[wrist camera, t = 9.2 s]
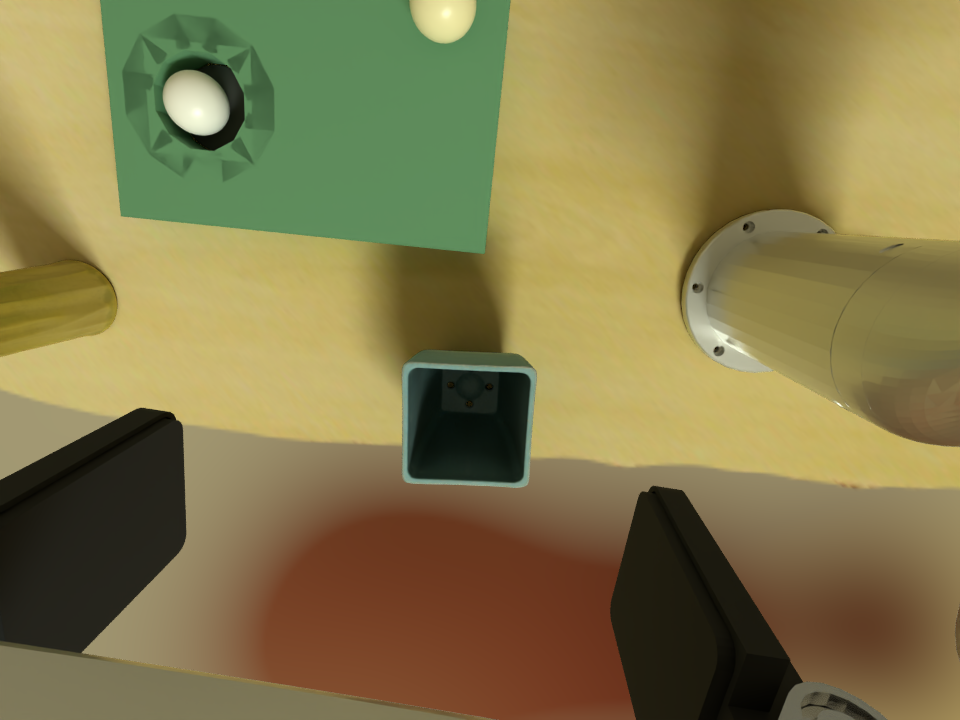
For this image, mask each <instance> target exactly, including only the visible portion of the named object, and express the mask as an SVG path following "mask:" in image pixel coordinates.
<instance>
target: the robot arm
mask: <svg viewBox="0 0 960 720" xmlns="http://www.w3.org/2000/svg"><path fill="white" fill-rule="evenodd" d="M744 224H745V225H746V228H745V230H743V226H744ZM695 283H696V288H695V289H692V286H693V284H695ZM681 305H682V313H683V319H684V322H685V325H686V328H687V331H688V333H689V335H690V336H691V338H692V340H693V341H694V343H695V344H696V345H697V346H698V347H699V348H700V349H701V351H702V352H703V353H704V354H706V355H707V356H708V357H710V358H711V359H713V360H714V361H716V362H718V363H720V364H721V365H723V366H725V367H727V368H731V369H734V370H737V371H741V372H751V373H760V372H771V371H776V372H778V373H780V374H781V375H783V376H785V377H787V378H789V379H791V380H793V381H794V382H796V383H798V384H800V385H802V386H804V387H805V388H807V389H809V390H811V391H813V392H815V393H817V394H818V395H820V396H822V397H824V398H826V399H828V400H829V401H831V402H833V403H835V404H837V405H839V406H841V407H842V408H844V409H846V410H848V411H850V412H852V413H854V414H856V415H858V416H859V417H861V418H863V419H865V420H867V421H869V422H871V423H873V424H875V425H877V426H878V427H880V428H882V429H884V430H886V431H888V432H890V433H893V434H895V435H897V436H900V437H903V438H906V439H909V440H913V441H916V442H920V443H925V444H931V445H940V446H951V447H960V241H953V240H934V239H916V238H898V237H880V236H861V235H843V234H836V233H835V231H834V230H833V229H832V228H831V227H830V226H828V225H827V224H826V223H824V222H823V221H822V220H820V219H818V218H816V217H814V216H812V215H809V214H807V213H804V212H799V211H795V210H785V209H774V210H763V211H758V212H754V213H751V214H747V215H744V216H742V217H740V218H738V219H736V220H734V221H731V222H729V223H728V224H726V225H725V226H724V227H722V228H721V229H720V230H718V231H717V232H715V233H714V234H713V235H712V236H711V237H710V238H709V239H708V240H707V241H706V242H705V243H704V244H703V246H702V247H701V248H700V250H699V251H698V253H697V254H696V256H695V257H694V259H693V261H692V263H691V265H690V267H689V269H688V271H687V274H686V277H685V281H684V285H683V289H682V302H681ZM715 347H717V349H716V350H715V351H713V350H714V348H715ZM185 539H186V510H185V480H184V448H183V427H182V424H181V422H180V421H178V420H176V418H175V416H174V414H172V413H171V412H166V411H159V410H153V409H146V408H139V409H136V410H134V411H132V412H130V413H128V414H126V415H124V416H122V417H120V418H118V419H117V420H115V421H113V422H111V423H109V424H107V425H105V426H103V427H101V428H99V429H97V430H95V431H94V432H92V433H90V434H88V435H86V436H84V437H82V438H80V439H78V440H76V441H74V442H73V443H70V444H69V445H67V446H65V447H63V448H61V449H59V450H57V451H55V452H53V453H52V454H49V455H48V456H46V457H44V458H42V459H40V460H38V461H36V462H34V463H32V464H30V465H29V466H26V467H24V468H23V469H21V470H19V471H17V472H15V473H13V474H11V475H9V476H7V477H5V478H3V479H1V480H0V720H495V719H489V718H483V717H477V716H471V715H465V714H459V713H453V712H447V711H441V710H435V709H429V708H423V707H417V706H410V705H405V704H399V703H393V702H387V701H381V700H375V699H369V698H362V697H356V696H350V695H344V694H337V693H331V692H325V691H319V690H313V689H306V688H300V687H294V686H288V685H282V684H275V683H269V682H263V681H256V680H250V679H244V678H237V677H231V676H225V675H218V674H212V673H205V672H200V671H193V670H187V669H181V668H174V667H168V666H161V665H155V664H148V663H141V662H135V661H128V660H122V659H116V658H109V657H102V656H96V655H89V654H83V653H82V651H83V650H84V649H85V648H86V647H87V646H88V645H89V644H90V643H91V642H92V641H93V640H94V639H95V638H96V637H97V636H98V635H99V634H100V633H101V632H102V631H103V630H104V629H105V628H106V627H107V626H108V625H109V624H110V623H111V622H112V621H113V620H114V619H115V618H116V617H117V616H118V615H119V614H120V613H121V611H122V610H123V609H124V608H125V607H126V606H127V605H128V604H129V603H130V602H131V601H132V600H133V599H134V598H135V597H136V596H137V595H138V594H139V593H140V592H141V591H142V590H143V589H144V588H145V587H146V586H147V585H148V584H149V583H150V582H151V581H152V580H153V579H154V578H155V577H156V576H157V575H158V574H159V573H160V572H161V571H162V570H163V568H165V566H166V565H167V564H168V563H169V562H170V561H171V560H172V559H173V558H174V557H175V556H176V555H177V554H178V553H179V551H180V550H181V549H182V547H183V545H184V542H185ZM610 614H611V622H612V626H613V630H614V633H615V638H616V641H617V646H618V650H619V654H620V657H621V661H622V665H623V669H624V673H625V677H626V681H627V685H628V689H629V693H630V697H631V701H632V705H633V709H634V713H635V717H636V720H887V719H886V718H885V717H884V716H883V715H881V713H879V712H878V711H876V710H875V709H874V708H872V707H871V706H869V705H868V704H866V703H865V702H864V701H862V700H861V699H859V698H857V697H855V696H853V695H851V694H849V693H847V692H845V691H843V690H841V689H839V688H836V687H833V686H830V685H827V684H824V683H817V682H804V683H803V681H802V680H801V678H800V676H799V675H798V673H797V672H796V670H795V669H794V667H793V665H792V664H791V662H790V658H789V657H788V655H787V654H786V652H785V651H784V649H783V647H782V646H781V644H780V643H779V641H778V640H777V638H776V636H775V635H774V633H773V632H772V630H771V628H770V627H769V625H768V624H767V622H766V621H765V619H764V618H763V616H762V614H761V613H760V611H759V610H758V608H757V606H756V605H755V603H754V602H753V600H752V599H751V597H750V595H749V594H748V592H747V591H746V589H745V587H744V586H743V584H742V583H741V581H740V580H739V578H738V577H737V575H736V573H735V572H734V570H733V568H732V567H731V565H730V564H729V562H728V561H727V559H726V558H725V556H724V554H723V553H722V551H721V550H720V548H719V546H718V545H717V543H716V542H715V540H714V539H713V537H712V535H711V534H710V532H709V531H708V529H707V527H706V526H705V524H704V523H703V521H702V520H701V518H700V516H699V515H698V513H697V512H696V510H695V509H694V507H693V505H692V504H691V502H690V501H689V499H688V497H687V496H686V495H685V493H684V492H683V491H682V490H677V489H671V488H664V487H658V486H652V487H651V488H650V489H649V491H648V492H641V493H640V495H639V497H638V501H637V504H636V508H635V512H634V516H633V520H632V524H631V527H630V531H629V535H628V539H627V543H626V546H625V551H624V554H623V558H622V562H621V566H620V569H619V574H618V577H617V581H616V585H615V589H614V592H613V596H612V600H611V608H610ZM955 637H956V650H957V653H958V657H959V660H960V606H959V610H958V614H957V619H956V628H955Z"/></svg>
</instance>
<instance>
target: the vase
mask: <svg viewBox="0 0 960 720" xmlns="http://www.w3.org/2000/svg"><path fill="white" fill-rule="evenodd" d="M116 313H117V299H116V295H115V292H114V290H113V288H112V286H111V284H110V283H109V281H108V280H107V279H106V277H105V276H104V275H103V274H102V273H100V272H99V271H98V270H97V269H96V268H94V267H92V266H90V265H88V264H86V263H84V262H80V261H76V260H64V261H59V262H56V263H53V264H48V265H41V266H35V267H29V268H23V269H17V270H12V271H6V272H0V357H2V356H7V355H10V354H14V353H18V352H22V351H26V350H30V349H35V348H39V347H43V346H47V345H52V344H56V343H59V342H64V341H68V340H72V339H75V338H79V337H83V336H93V335H97V334H100V333H102V332H103V331H105V330H106V329H108V328H109V327H110V325H111V324H112V323H113V321H114V319H115V316H116Z"/></svg>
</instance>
